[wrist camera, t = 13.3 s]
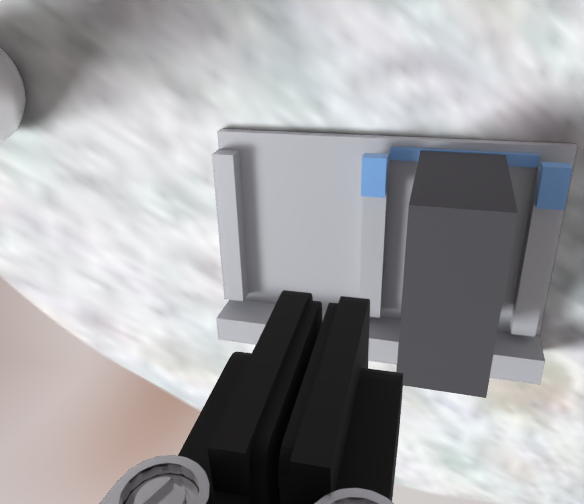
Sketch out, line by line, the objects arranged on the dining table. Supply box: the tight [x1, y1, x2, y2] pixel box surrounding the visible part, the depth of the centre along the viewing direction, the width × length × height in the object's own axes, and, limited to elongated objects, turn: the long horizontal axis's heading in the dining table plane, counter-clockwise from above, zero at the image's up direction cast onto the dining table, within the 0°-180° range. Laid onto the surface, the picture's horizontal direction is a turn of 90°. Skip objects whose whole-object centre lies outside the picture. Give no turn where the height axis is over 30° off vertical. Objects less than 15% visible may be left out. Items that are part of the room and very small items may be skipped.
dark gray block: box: [397, 151, 518, 398], centre depth 26 cm, size 9×4×7 cm, turn 2°
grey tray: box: [212, 129, 577, 385], centre depth 30 cm, size 12×18×3 cm, turn 92°
